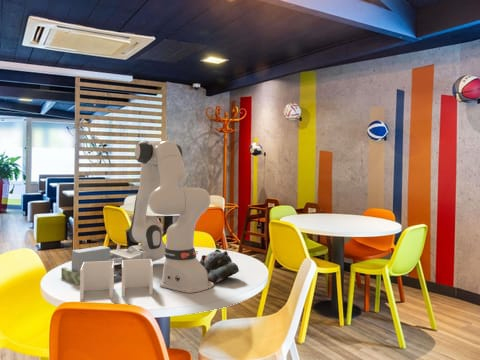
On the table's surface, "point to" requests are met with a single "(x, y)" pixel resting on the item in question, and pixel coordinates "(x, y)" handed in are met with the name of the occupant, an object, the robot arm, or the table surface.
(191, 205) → the robot arm
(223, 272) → the dark grey lumpy object
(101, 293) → the table surface
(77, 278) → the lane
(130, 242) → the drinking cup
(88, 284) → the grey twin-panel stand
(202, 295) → the table surface
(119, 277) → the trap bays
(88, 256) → the slate block
